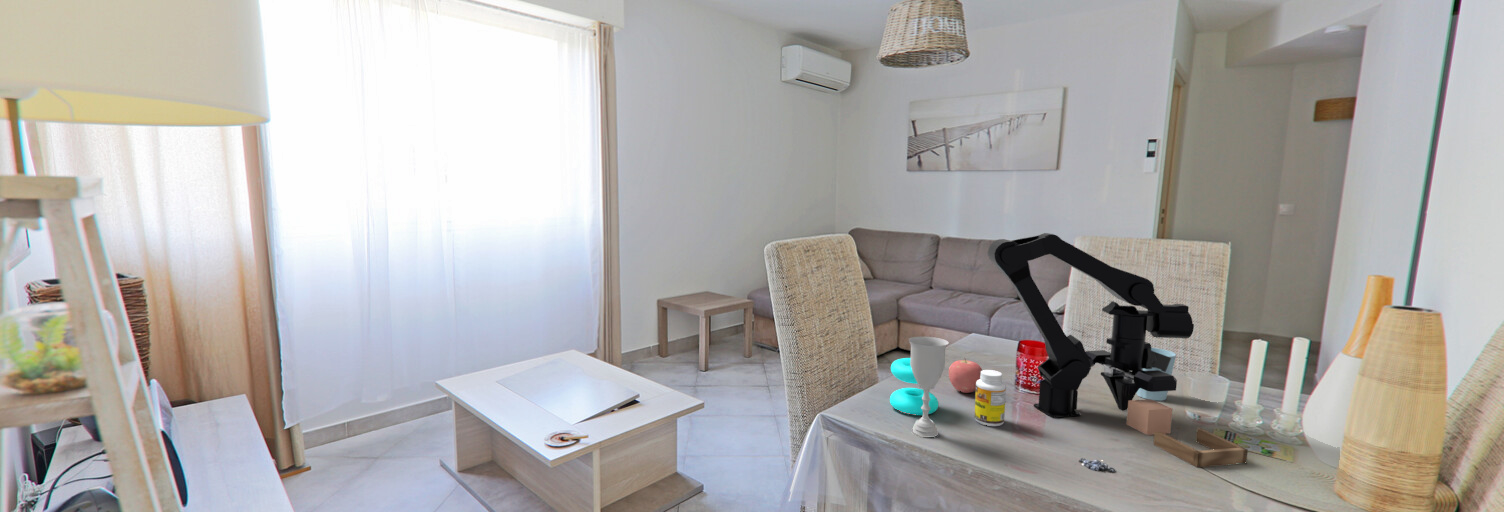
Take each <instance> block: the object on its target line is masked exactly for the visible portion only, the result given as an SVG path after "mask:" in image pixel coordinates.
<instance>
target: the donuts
mask: <svg viewBox="0 0 1504 512" xmlns="http://www.w3.org/2000/svg"><path fill="white" fill-rule="evenodd" d="M910 360H911V357H904V358H898V359H895V360H893V362H892V363H891V364H890V365H891V366H890V371H891V374H892V375H893V376H894V378H896V379H897V380H899V381H901V382H904V383H908V384H915V385H918V383H917V381H916V379H915V377H914V374H913V371H912V368H911V365H910ZM923 394H924V390H923V388H917V387H903V388H899V389H897V390H894V391H893V392H892V393H891V395H890V397H889V404H890V405H892V406H893V407H894V408H895V409H897V410H900V411H902V412H906V413H910V414H916V415H915V416H923V410H922V409H921V407H922V406H923V400H922V397H923ZM929 397H930V399H931V400H930V401H929V407H930V408H931V409H930V410H929V413H928V415H932V414H934V413H935V412H937V410H938V408H939V401H938V398H937V397H936V396H935V395H934V394H933V393H932V392H930V391H929ZM892 406H891V407H892ZM893 407H892V408H893ZM894 408H893V409H894ZM895 409H894V410H895ZM897 410H896V411H897ZM902 412H901V413H902Z"/></svg>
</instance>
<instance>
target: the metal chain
mask: <svg viewBox="0 0 1504 512" xmlns="http://www.w3.org/2000/svg"><path fill="white" fill-rule="evenodd" d="M1103 462H1104V460H1103V459H1101V460H1098V459H1093V460H1089V459H1088V458H1087V459H1086V458H1084V457H1081V458H1080V459H1079V460H1078V463H1080V464H1081V465H1082V467H1085V468H1086V469H1088V470H1090V471H1093V472H1101V473H1105V472H1106V473H1109V474H1114V473H1116V469H1115V468H1114V467H1109V464H1110V463H1109V462H1108V463H1106V462H1104V463H1103Z"/></svg>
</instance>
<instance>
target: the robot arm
mask: <svg viewBox="0 0 1504 512" xmlns="http://www.w3.org/2000/svg"><path fill="white" fill-rule="evenodd" d="M1046 255H1049V256H1051V257H1053V258H1055V259H1057V260H1058V261H1061V262H1063V263H1064V264H1066V265H1068V266H1069V267H1071V268H1073V269H1075V270H1077V271H1079V272H1080V273H1083V274H1084V275H1086V276H1088V277H1090V278H1091V279H1093V280H1094V281H1096V282H1097V283H1099V285H1101V287H1102V288H1104V289H1105V290H1106V291H1107V292H1109V294H1110V295H1113V297H1114V298H1116V299H1118V300H1120V301H1122V302H1125V303H1128V304H1129V305H1119V303H1118V302H1115V301H1111V302H1110V303H1108V305H1106V306H1104V307H1102V308H1101V311H1102V312H1103V313H1106V314H1108V315H1111V316H1113V319H1112V330H1111V331H1112V332H1111V337H1107V338H1106V341H1105V342H1106V344H1108V345H1110V351H1107V350H1104V349H1102V350H1101V349H1099V350H1085V347H1084V344H1083V342H1082V341H1081V340H1080V339H1078V338H1076V337H1075V336H1073V335H1072V334H1069V335H1066V333H1065V332H1064V330H1063V328H1062V327H1061V325H1060V323H1059V322H1058V320H1057V318H1056V317H1055V315H1054V313H1053V311H1052V310H1051V308H1050V306H1049V305H1048V303H1047V301H1046V300H1045V298H1044V296H1043V294H1042V293H1041V291H1040V289H1039V288H1038V286H1037V284H1036V282H1035V280H1034V279H1033V278H1032V274H1031V269H1030V265H1029V264H1030V263H1029V261H1033V260H1036V259H1038V258H1041V257H1044V256H1046ZM987 256H988V259H989V261H990V262H991V263H992V264H993V265H994V267H995V268H996V269H997V270H998V271H999V272H1000V273H1001V274H1002V275H1003V276H1004V277H1005V278H1006V279H1007V281H1008V282H1009V283H1010V284H1011V285H1012V287H1013V289H1014V290H1015V292H1016V293H1017V294H1016V295H1018V298H1019V299H1020V301H1021V303H1022V305H1023V306H1024V307H1025V309H1026V311H1027V312H1028V314H1029V316H1030V317H1031V319H1032V321H1033V323H1034V324H1035V327H1036V328H1037V330H1038V331H1039V333H1040V335H1041V337H1042V338H1043V341H1044V346H1045V351H1046V353H1047V356H1048V358H1047V359H1046V360H1045V361H1043V363H1041V364H1040V365H1038V367H1037V370H1038V372H1039V375H1040V377H1042V378H1043V380H1040V381H1039V391H1038V392H1039V394H1038V395H1039V396H1038V403H1033V407H1034V408H1036V409H1037V410H1039V411H1040V412H1043V413H1044V414H1046V415H1047V416H1049V417H1052V418H1062V417H1063V418H1064V417H1065V418H1066V417H1079V416H1081V412H1079V411H1077V409H1078V408H1077V407H1078V395H1079V391H1078V390H1079V388H1080V386H1081V383H1082V382H1083V380H1084V379H1086V378H1087V377H1088V375H1090V371H1091V369H1092V367H1094V366H1095V365H1096V364H1100V365H1102V366H1103V372H1102V371H1101V372H1100V376H1102V377H1103V379H1104V380H1105V382H1106V385H1107V387H1108V388H1109V390H1110V393H1111V394H1112V397H1113V399H1114V401H1115V403H1116V405H1117V407H1118V410H1120V411H1122V412H1124V411H1128V401H1129V400H1134V397H1135V395H1137V391H1138V390H1139V389H1140V388H1141V389H1144V390H1146V391H1150V392H1159V391H1168V392H1172V391H1173V392H1174V391H1177V383H1178V379H1177V378H1176V377H1175V376H1174V375H1173V374H1172V375H1170V374H1167V373H1164V372H1166V370H1167V368H1168V365H1169V363H1170V360H1171V358H1170V357H1168V356H1165V355H1162V354H1159V353H1157V352H1154V351H1151V348H1152V344H1151V343H1150V342H1146V335H1147V332H1148V333H1149V334H1150V335H1151V336H1152V337H1153V338H1164V339H1166V338H1167V339H1186V340H1187V339H1189V338H1191V336H1192V335H1193V332H1194V327H1195V324H1194V323H1193V318H1192V316H1191V314H1190V312H1189V308H1190V307H1189V306H1188V305H1186V304H1183V303H1174V304H1162V302H1161V301H1160V299H1159V298H1158V297H1157V295H1156V294H1155V287H1154V283H1153V281H1151V280H1149V279H1148V278H1146V277H1143V276H1140V275H1137V274H1134V273H1131V272H1128V271H1125V270H1123V269H1119V268H1116V267H1114V266H1112V265H1109V264H1107V263H1105V262H1103V261H1102V260H1100V259H1098V258H1097V257H1095V256H1093V255H1091V254H1089V253H1087V252H1085V251H1083V250H1082V249H1080V248H1078V247H1077V246H1074V245H1073V244H1070V243H1069V242H1067V241H1066V240H1064V239H1062V238H1061V237H1060V236H1059V235H1057V234H1054V233H1048V232H1044V233H1041V234H1038V235H1033V236H1029V237H1024V238H1018V239H1013V240H1009V239H1005V238H999V239H996V240H995V241H993V242H992V243H991V244H990V245H989V247H988V250H987ZM1137 306H1138V307H1142V308H1143V309H1146V310H1143V309H1142V310H1140V309H1137ZM1152 367H1153V368H1155V367H1156V368H1158V369H1161V371H1159V370H1154V371H1143V370H1142V369H1143V368H1145V369H1152ZM1162 371H1164V372H1162Z"/></svg>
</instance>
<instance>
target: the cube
mask: <svg viewBox="0 0 1504 512" xmlns="http://www.w3.org/2000/svg"><path fill="white" fill-rule="evenodd" d="M1126 415H1127V416H1126V425H1127V426H1129V427H1131V428H1133V429H1135V430H1137V431H1139V432H1141V433H1143V434H1144V435H1147V436H1150V435H1151V436H1152V435H1155V431H1159V432H1161V433H1163V434H1165V435H1168V434H1171V430H1172V429H1171V428H1172V418H1173V417H1172V416H1173V408H1172V407H1169V406H1167V405H1165V404H1163V403H1160V402H1158V401H1156V400H1152V399H1132V400H1129V401H1128V408H1127V413H1126Z"/></svg>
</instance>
